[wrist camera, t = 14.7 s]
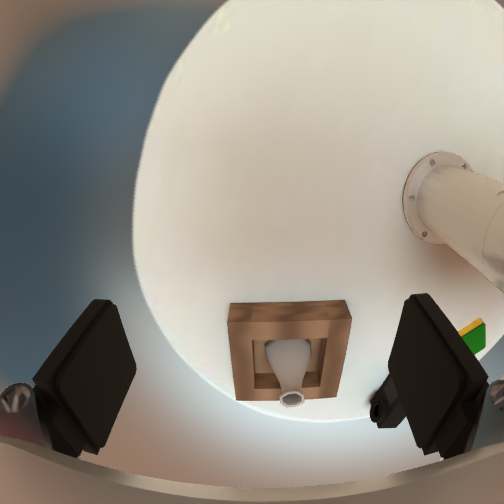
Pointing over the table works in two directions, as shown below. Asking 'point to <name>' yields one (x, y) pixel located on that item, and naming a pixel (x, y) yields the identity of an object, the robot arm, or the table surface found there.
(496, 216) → the robot arm
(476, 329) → the dish sponge
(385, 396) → the digital camera
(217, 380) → the table surface
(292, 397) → the flask
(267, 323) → the condiment dock
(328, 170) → the table surface
